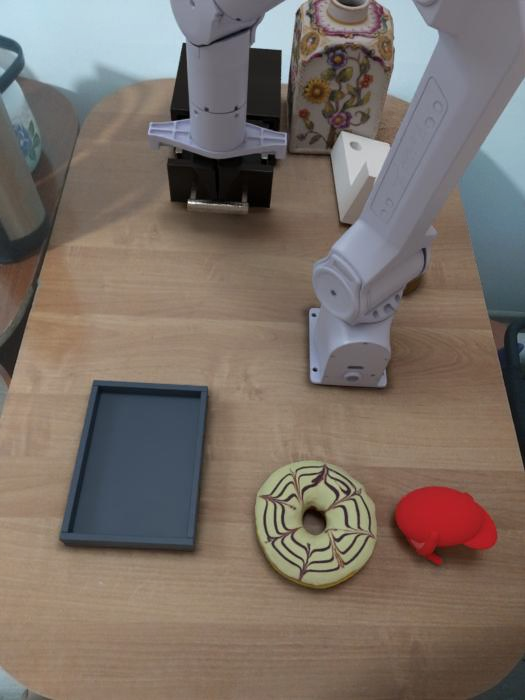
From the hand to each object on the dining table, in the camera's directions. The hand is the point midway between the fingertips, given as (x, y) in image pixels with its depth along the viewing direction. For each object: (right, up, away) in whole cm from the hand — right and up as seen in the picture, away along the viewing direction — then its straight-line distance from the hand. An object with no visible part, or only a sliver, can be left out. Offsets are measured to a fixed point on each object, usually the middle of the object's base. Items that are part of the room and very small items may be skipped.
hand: (218, 198), depth 67 cm
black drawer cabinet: (+1, +13, +13) cm, 18 cm away
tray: (-6, -29, -14) cm, 33 cm away
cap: (+21, -35, -15) cm, 43 cm away
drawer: (0, +4, +6) cm, 7 cm away
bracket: (+19, +3, +8) cm, 21 cm away
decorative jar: (+14, +13, +14) cm, 24 cm away
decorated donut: (+10, -34, -16) cm, 39 cm away
